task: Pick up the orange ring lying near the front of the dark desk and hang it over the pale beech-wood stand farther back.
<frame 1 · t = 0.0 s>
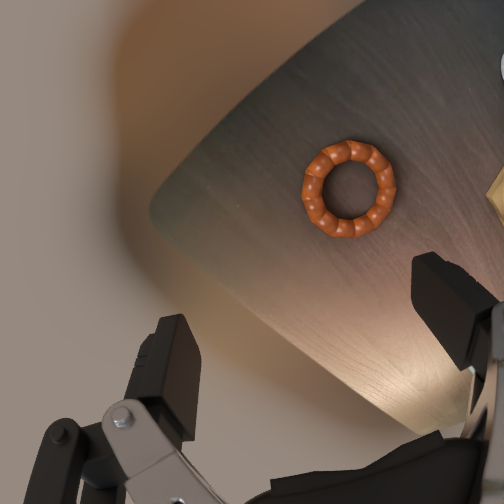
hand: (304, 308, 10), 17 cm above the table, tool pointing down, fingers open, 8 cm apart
ring: (351, 190, 25), point 1 cm above the table
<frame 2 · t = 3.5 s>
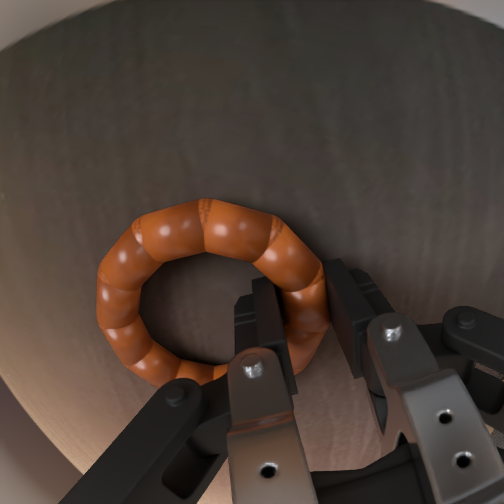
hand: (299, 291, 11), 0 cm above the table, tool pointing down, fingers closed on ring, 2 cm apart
ring: (210, 319, 11), point 1 cm above the table, touching gripper
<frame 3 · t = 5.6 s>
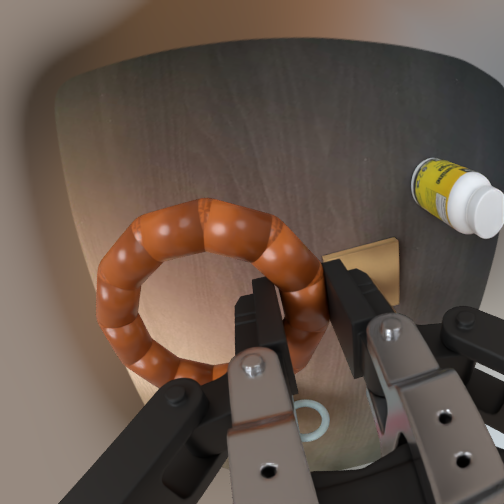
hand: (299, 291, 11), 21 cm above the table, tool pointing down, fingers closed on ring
ring: (209, 318, 11), point 21 cm above the table, touching gripper
pill bottle: (429, 182, 31), on the table
stand: (362, 279, 36), on the table
mug: (276, 394, 44), on the table
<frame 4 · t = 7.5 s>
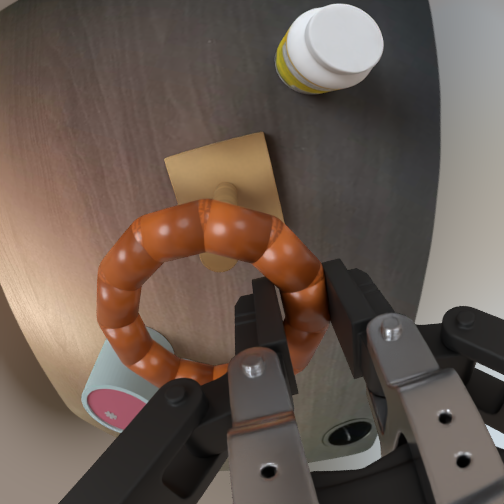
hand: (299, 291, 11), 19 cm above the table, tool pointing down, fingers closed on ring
ring: (210, 319, 11), point 20 cm above the table, touching gripper
pill bottle: (306, 63, 24), on the table
stand: (226, 189, 29), on the table
mug: (156, 350, 37), on the table
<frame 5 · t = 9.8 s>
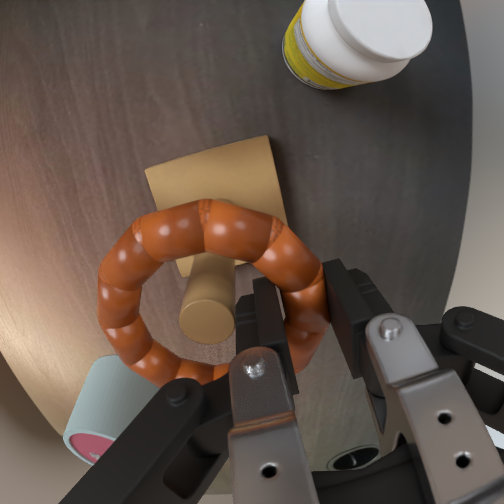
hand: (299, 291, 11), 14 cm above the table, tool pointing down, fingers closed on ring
ring: (210, 319, 11), point 14 cm above the table, touching gripper
pill bottle: (321, 52, 19), on the table
stand: (221, 206, 24), on the table
mug: (145, 383, 32), on the table
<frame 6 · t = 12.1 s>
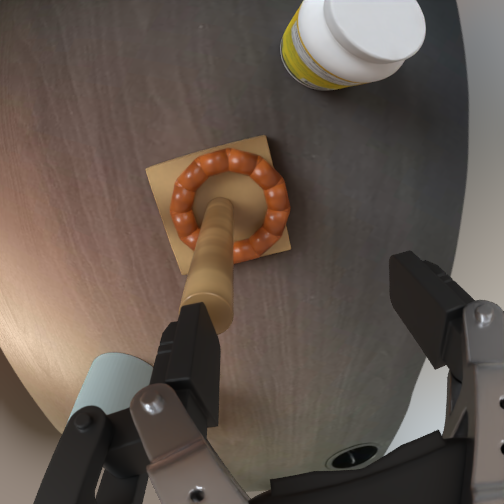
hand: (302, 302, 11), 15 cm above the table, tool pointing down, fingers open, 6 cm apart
ring: (229, 208, 22), point 2 cm above the table, touching stand
pill bottle: (318, 53, 20), on the table
stand: (220, 205, 24), on the table
mug: (145, 380, 32), on the table
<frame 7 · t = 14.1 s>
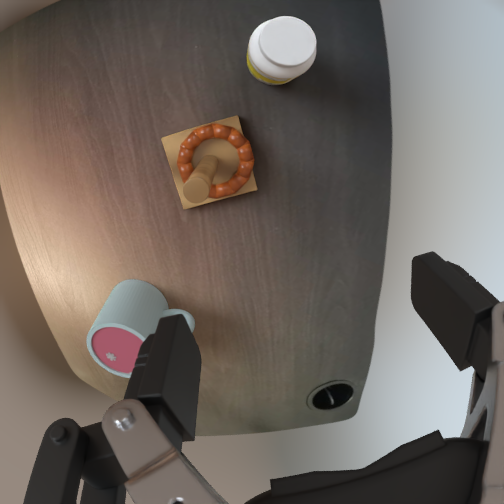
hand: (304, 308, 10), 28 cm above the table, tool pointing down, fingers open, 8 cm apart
ring: (215, 161, 34), point 2 cm above the table, touching stand
pill bottle: (272, 61, 31), on the table
stand: (210, 161, 35), on the table
mug: (153, 304, 44), on the table
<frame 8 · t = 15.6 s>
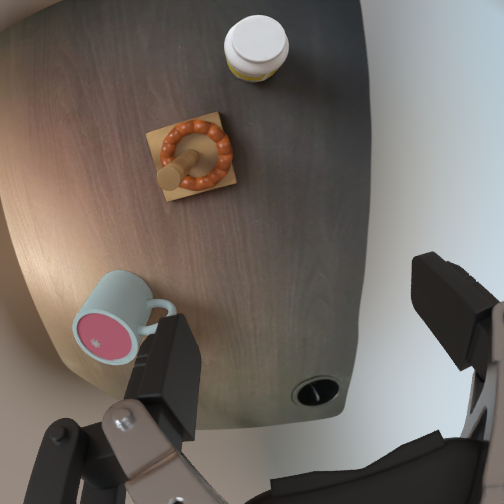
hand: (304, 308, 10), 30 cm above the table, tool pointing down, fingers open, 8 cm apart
ring: (195, 155, 35), point 2 cm above the table, touching stand
pill bottle: (252, 59, 32), on the table
stand: (192, 156, 37), on the table
mug: (138, 295, 45), on the table
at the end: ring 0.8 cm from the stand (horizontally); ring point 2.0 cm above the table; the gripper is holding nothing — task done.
